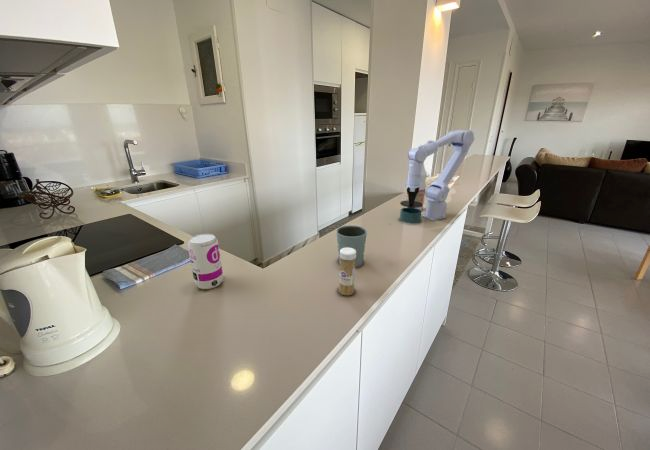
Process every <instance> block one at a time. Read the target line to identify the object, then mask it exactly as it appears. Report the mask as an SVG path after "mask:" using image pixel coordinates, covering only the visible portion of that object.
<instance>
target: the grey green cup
mask: <svg viewBox="0 0 650 450" xmlns="http://www.w3.org/2000/svg"><path fill="white" fill-rule="evenodd" d="M367 234H368V231H367V229H365V228H364V227H362V226H359V225H342V226H340V227H338V228H337V229H336V241H337V252H338V262H339V264H340V250H341V249H342V248H347V247H348V248H353V249H355V250H356V259H355V268H359V267H361V266H362V265H363V264H364V258H365V250H366V240H367V236H368V235H367Z"/></svg>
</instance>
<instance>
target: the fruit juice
mask: <svg viewBox="0 0 650 450" xmlns="http://www.w3.org/2000/svg"><path fill="white" fill-rule="evenodd" d="M424 162H425V161H423V165H422V173H421V181H420V187H419V192H418V194H417V195H416V198H415V201H417V202H420V203H422V204H423V206H422V207H418V208H417V209H419V210H421V211H422V210H423V208H424V201H425V196H426V195H425V191H426V188H427V184H426V179H427V177H428V173H427V171H426V168H425V163H424ZM407 187H408V186H407V185H406V188H407ZM405 201H409V199H408V193H407V192H406V195H405ZM404 208H406V207H405V206H404Z"/></svg>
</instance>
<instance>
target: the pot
mask: <svg viewBox="0 0 650 450" xmlns="http://www.w3.org/2000/svg"><path fill="white" fill-rule="evenodd" d="M399 211H400V213H399V221H401V222H403V223H406V224H418V223H420V222H421V219H422V212H423V211H422V210H419V209H417V208H409V207H406V208H405V207H402V208H400V210H399Z"/></svg>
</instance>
